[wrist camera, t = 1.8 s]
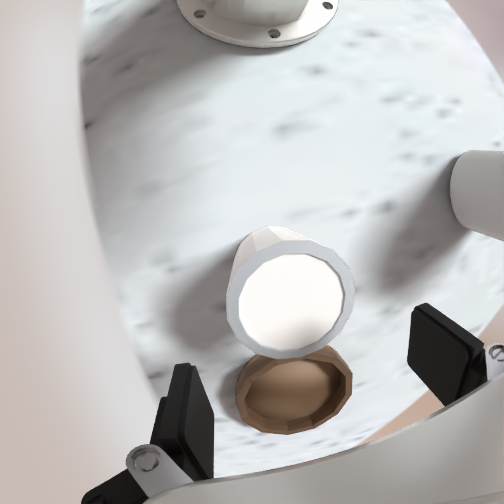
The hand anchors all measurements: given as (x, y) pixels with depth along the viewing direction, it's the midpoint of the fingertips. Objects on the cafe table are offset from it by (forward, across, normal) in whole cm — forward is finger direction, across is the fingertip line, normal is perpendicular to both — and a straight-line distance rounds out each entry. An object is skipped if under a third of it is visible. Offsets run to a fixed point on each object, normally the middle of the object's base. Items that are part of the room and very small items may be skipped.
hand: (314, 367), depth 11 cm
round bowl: (+11, 0, +11) cm, 16 cm away
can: (+11, -20, -4) cm, 23 cm away
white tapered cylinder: (+11, 0, -1) cm, 11 cm away
